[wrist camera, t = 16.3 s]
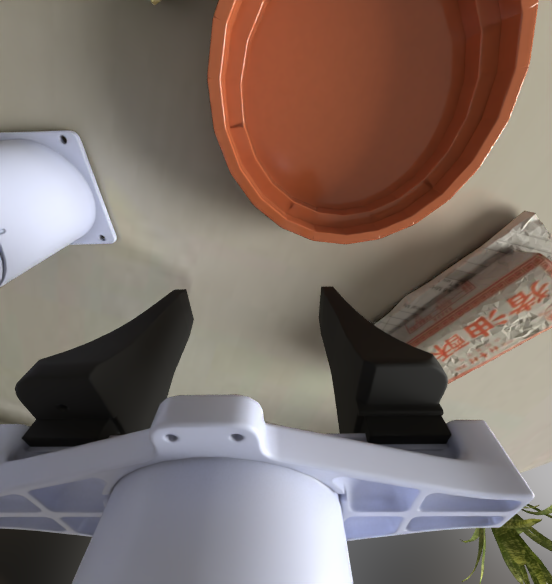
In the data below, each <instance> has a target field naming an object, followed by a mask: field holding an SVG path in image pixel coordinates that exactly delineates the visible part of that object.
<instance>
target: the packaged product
mask: <svg viewBox="0 0 552 584" xmlns="http://www.w3.org/2000/svg"><path fill="white" fill-rule="evenodd" d="M374 325H375V326H376V327H378V328H379V329H381V330H382V331H384V332H386V333H387V334H389V335H391V336H393V337H395V338H396V339H398V340H400V341H402V342H405V343H407V344H409V345H411V346H413V347H416V348H418V349H421V350H424V351H426V352H429V353H431V354H433V355H434V356H435V358H436V359H437V360H438V362H439V363H440V365H441V366H442V368H443V370H444V371H445V373H446V374H447V376H448V384H449V383H451V382H453V381H454V380H456V379H458V378H460V377H462V376H464V375H466V374H467V373H469V372H471V371H473V370H474V369H477V368H479V367H481V366H483V365H484V364H486V363H488V362H490V361H492V360H494V359H496V358H497V357H499V356H501V355H502V354H504V353H506V352H508V351H510V350H511V349H513V348H515V347H517V346H519V345H521V344H522V343H524V342H526V341H528V340H530V339H532V338H533V337H535V336H537V335H538V334H540V333H542V332H545V331H547V330H549V329H551V328H552V236H551V234H550V233H549V232H548V230H547V229H546V227H545V226H544V224H543V223H542V222H541V221H540V220H539V219H538V217H537V216H536V213H533V212H528V211H524V212H522V213H521V214H520V215H519V216H517V217H516V218H515V219H514V220H513V221H511V222H510V223H509V224H508V225H507V226H505V227H504V228H503V229H502V230H500V231H499V232H498V233H497V234H496V235H494V236H493V237H492V238H491V239H490V240H488V241H487V242H486V243H485V244H483V245H482V246H481V247H480V248H478V249H477V250H475V251H473V252H472V253H470V254H469V255H467V256H466V257H464V258H463V259H461V260H460V261H459V262H457V263H456V264H454V265H453V266H451V267H450V268H448V269H447V270H446V271H444V272H443V273H441V274H440V275H438V276H437V277H436V278H434V279H433V280H431V281H430V282H428V283H427V284H425V285H424V286H422V287H420V288H418V289H417V290H415V291H413V292H412V293H410V294H408V295H406V296H405V297H404V298H403V299H402V300H401V301H400V302H399V303H398V304H397V305H396V306H395V308H394V309H393V310H392V311H391V312H389V313H388V314H387V315H386V316H384V317H383V318H382V319H381V320H379V321H378V322H377V323H375V324H374Z"/></svg>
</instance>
